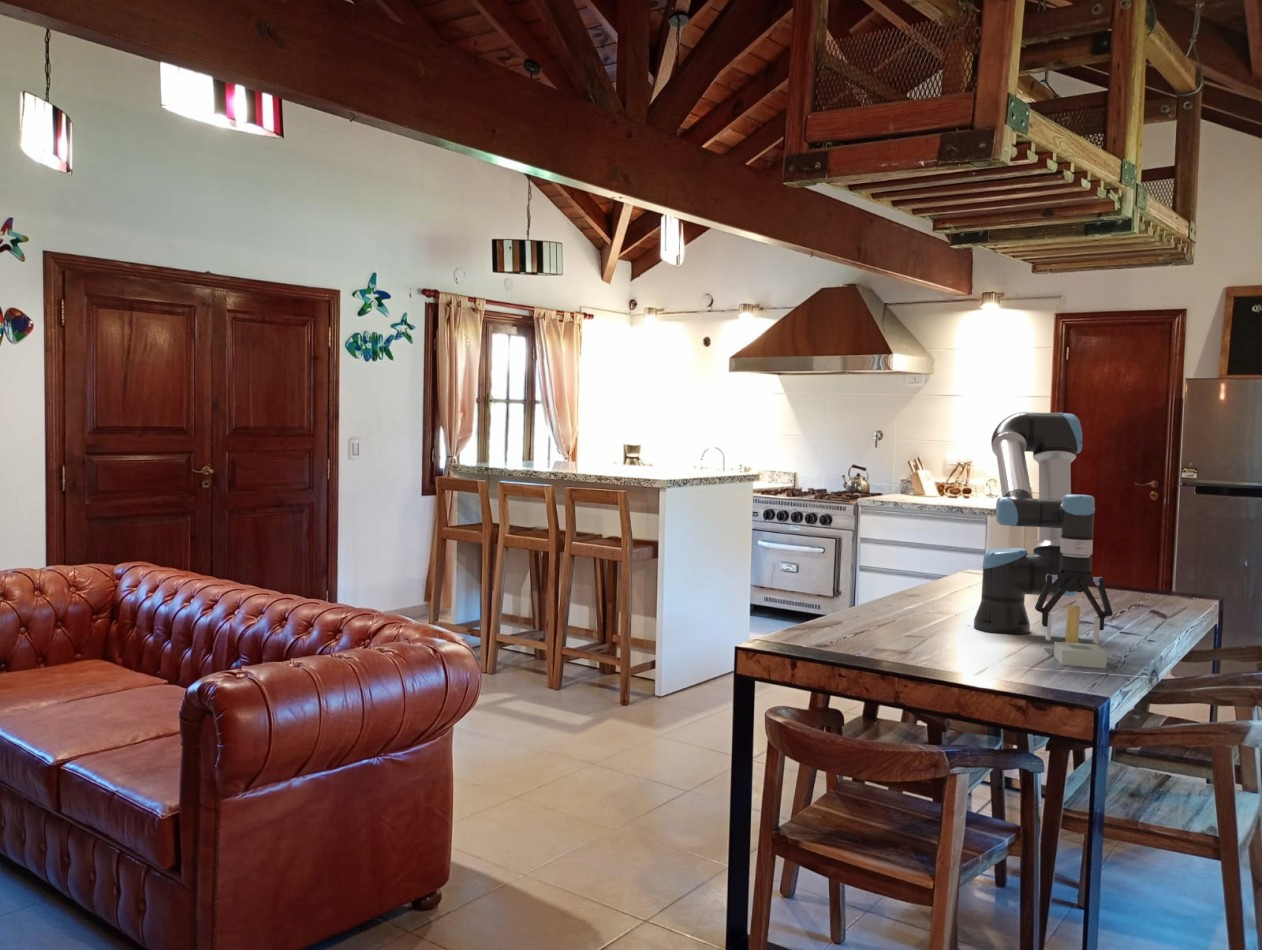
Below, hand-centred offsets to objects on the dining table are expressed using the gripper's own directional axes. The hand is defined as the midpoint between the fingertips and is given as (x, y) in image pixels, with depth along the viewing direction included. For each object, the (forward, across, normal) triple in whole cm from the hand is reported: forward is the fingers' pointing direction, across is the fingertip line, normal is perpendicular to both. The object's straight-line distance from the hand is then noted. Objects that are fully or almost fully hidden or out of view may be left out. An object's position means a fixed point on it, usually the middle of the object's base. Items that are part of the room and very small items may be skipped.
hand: (1071, 641), depth 257 cm
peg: (+3, 0, 0) cm, 3 cm away
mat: (+3, 0, 0) cm, 3 cm away
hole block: (+4, 0, -10) cm, 11 cm away
